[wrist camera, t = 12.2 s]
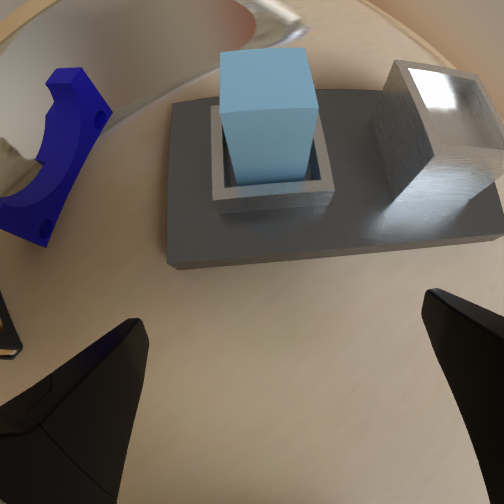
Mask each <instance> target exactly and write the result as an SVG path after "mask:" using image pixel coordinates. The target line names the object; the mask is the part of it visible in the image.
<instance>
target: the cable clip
mask: <svg viewBox="0 0 504 504" xmlns="http://www.w3.org/2000/svg"><path fill="white" fill-rule="evenodd" d="M45 84H46V86H47V87H48V88H49V90H50V92H51V94H52V97H53V100H54V103H53V105H52V107H51V108H50V110H49V111H48V113H47V114H46V116H45V117H46V120H45V132H44V136H43V141H42V144H41V147H40V150H39V153H38V155H37V157H36V159H35V160H36V161H38V162H39V163H40V164H42V165H43V167H42V169H41V170H40V172H39V173H38V175H37V176H36V177H35V178H34V180H33V181H32V182H31V183H30V184H29V185H27V186H26V187H25V188H24V189H22V190H21V191H19V192H18V193H16V194H13V195H11V196H8V197H3V198H0V229H2V230H4V231H7V232H9V233H11V234H14V235H16V236H18V237H21V238H23V239H26V240H28V241H30V242H33V243H35V244H38V245H40V246H43V247H45V248H46V247H47V244H48V242H49V239H50V236H51V234H52V231H53V229H54V226H55V224H56V222H57V219H58V217H59V214H60V212H61V210H62V207H63V205H64V203H65V201H66V199H67V196H68V194H69V192H70V190H71V188H72V186H73V184H74V182H75V179H76V177H77V175H78V173H79V171H80V169H81V168H82V166H83V164H84V162H85V160H86V158H87V156H88V154H89V152H90V150H91V149H92V147H93V145H94V143H95V141H96V140H97V138H98V136H99V134H100V133H101V131H102V129H103V128H104V126H105V124H106V123H107V121H108V119H109V118H110V116H111V114H112V113H113V112H112V110H111V109H110V107H109V106H108V105H107V103H106V102H105V100H104V99H103V97H102V96H101V95H100V93H99V92H98V90H97V89H96V87H95V86H94V85H93V83H92V82H91V80H90V79H89V78H88V76H87V74H86V73H85V72H84V70H83V69H82V68H81V67H80V68H59V69H56V70H55V71H54V72H53V74H52V75H51V76H50V78H49V79H48V80H47V82H46V83H45Z"/></svg>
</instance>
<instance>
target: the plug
mask: <svg viewBox="0 0 504 504" xmlns="http://www.w3.org/2000/svg"><path fill="white" fill-rule="evenodd" d="M318 109H319V107H318V102H317V97H316V93H315V88H314V84H313V80H312V75H311V71H310V67H309V63H308V59H307V55H306V51H305V48H269V49H251V50H239V51H228V52H221V53H220V117H221V121H222V125H223V129H224V133H225V137H226V141H227V145H228V149H229V153H230V157H231V161H232V166H233V170H234V174H235V178H236V182H237V186H238V187H239V186H249V185H260V184H272V183H285V182H298V181H304V180H305V175H306V170H307V165H308V160H309V155H310V150H311V145H312V140H313V135H314V130H315V125H316V120H317V115H318Z"/></svg>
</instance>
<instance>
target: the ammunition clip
mask: <svg viewBox="0 0 504 504" xmlns="http://www.w3.org/2000/svg"><path fill="white" fill-rule="evenodd" d="M22 348H23V345H22V343H21V341H20V339H19V336H18V334H17V332H16V330H15V327H14V325H13V323H12V320H11V318H10V315H9V313H8V310H7V308H6V305H5V302H4V300H3V297H2V294H1V291H0V359H4V360H13V359H14V358H15V357H16V355H17V354H18V353H19V352H20V351H21V350H22Z"/></svg>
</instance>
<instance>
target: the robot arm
mask: <svg viewBox="0 0 504 504" xmlns="http://www.w3.org/2000/svg"><path fill="white" fill-rule="evenodd" d="M421 315H422V319H423V322H424V325H425V327H426V330H427V333H428V336H429V338H430V341H431V344H432V347H433V350H434V352H435V355H436V357H437V359H438V362H439V364H440V366H441V368H442V370H443V372H444V375H445V377H446V379H447V381H448V384H449V386H450V388H451V391H452V393H453V395H454V398H455V400H456V403H457V405H458V407H459V410H460V412H461V415H462V417H463V420H464V423H465V425H466V428H467V431H468V433H469V436H470V439H471V442H472V444H473V447H474V450H475V453H476V456H477V459H478V461H479V462H478V463H479V466H480V469H481V472H482V475H483V479H484V482H485V485H486V489H487V492H488V496H489V500H490V504H504V317H503V316H501V315H499V314H496V313H494V312H492V311H490V310H487V309H485V308H483V307H481V306H478V305H476V304H474V303H472V302H469V301H467V300H465V299H462V298H460V297H458V296H455V295H453V294H451V293H448V292H446V291H444V290H441V289H439V288H434V289H428V290H427V291H426V292H425V296H424V301H423V306H422V311H421ZM148 349H149V339H148V336H147V333H146V330H145V327H144V325H143V322H142V320H141V319H139V318H129V319H127V320H125V321H124V322H122V323H121V324H120V325H118V326H117V327H115V328H114V329H112V330H111V331H110V332H108V333H107V334H105V335H104V336H103V337H101V338H100V339H98V340H97V341H95V342H94V343H93V344H91V345H90V346H88V347H87V348H86V349H84V350H83V351H81V352H80V353H79V354H77V355H76V356H74V357H73V358H72V359H70V360H69V361H67V362H66V363H65V364H63V365H62V366H60V367H59V368H58V369H56V370H55V371H53V373H50V374H49V375H48V376H46V377H45V378H44V379H42V380H41V381H39V382H38V383H36V384H35V385H34V386H32V387H31V388H29V389H27V390H26V391H24V392H23V393H21V394H19V395H18V396H16V397H15V398H13V399H11V400H10V401H8V402H6V403H5V404H3V405H2V406H0V504H117V498H118V493H119V488H120V483H121V478H122V473H123V468H124V463H125V458H126V454H127V449H128V445H129V440H130V436H131V432H132V428H133V423H134V419H135V415H136V411H137V407H138V403H139V399H140V395H141V392H142V387H143V382H144V376H145V369H146V362H147V356H148Z"/></svg>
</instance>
